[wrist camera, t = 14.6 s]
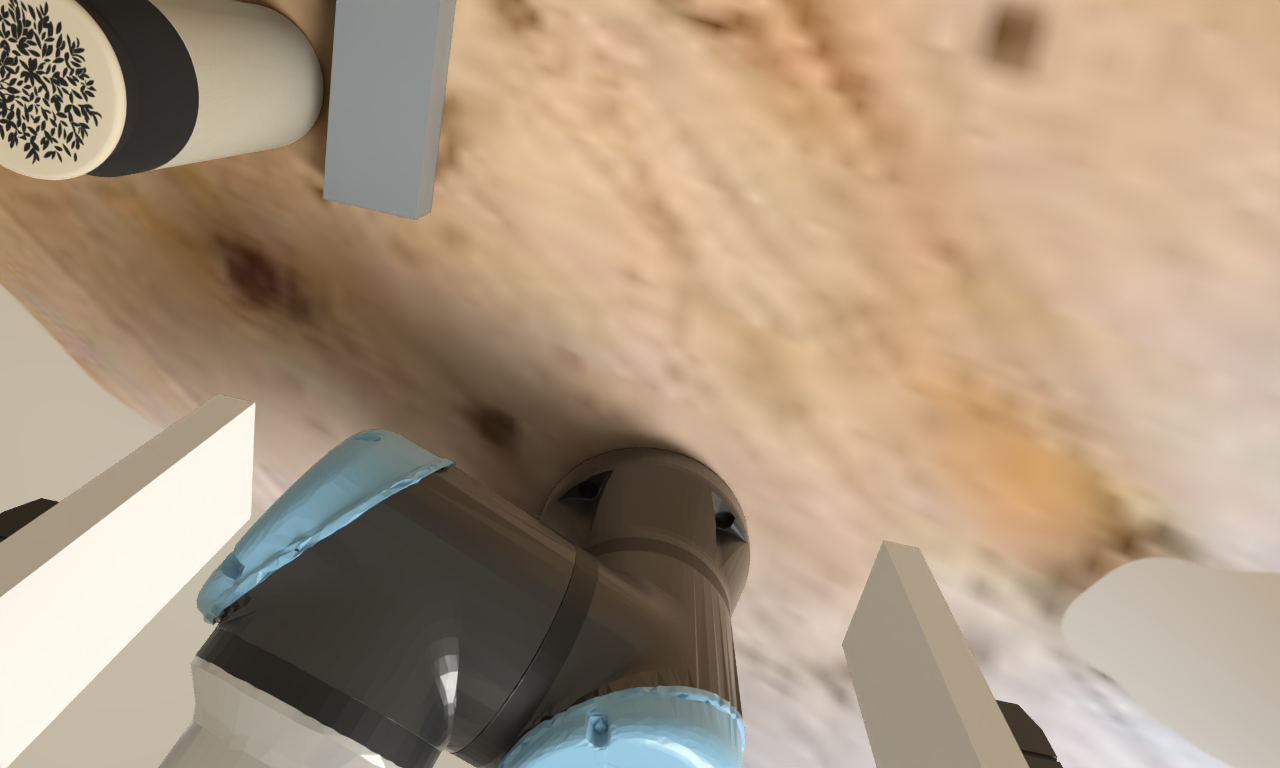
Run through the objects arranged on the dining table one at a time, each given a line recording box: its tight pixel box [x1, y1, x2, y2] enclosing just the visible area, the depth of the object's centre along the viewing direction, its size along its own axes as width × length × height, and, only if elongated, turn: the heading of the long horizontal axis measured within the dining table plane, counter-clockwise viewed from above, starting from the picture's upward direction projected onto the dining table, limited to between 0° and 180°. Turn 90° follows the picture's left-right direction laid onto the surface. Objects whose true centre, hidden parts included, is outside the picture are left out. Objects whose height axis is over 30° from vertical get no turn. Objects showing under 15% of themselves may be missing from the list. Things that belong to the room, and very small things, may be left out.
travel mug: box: [0, 0, 324, 180], centre depth 38 cm, size 8×8×18 cm
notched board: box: [323, 0, 456, 220], centre depth 44 cm, size 18×22×3 cm
